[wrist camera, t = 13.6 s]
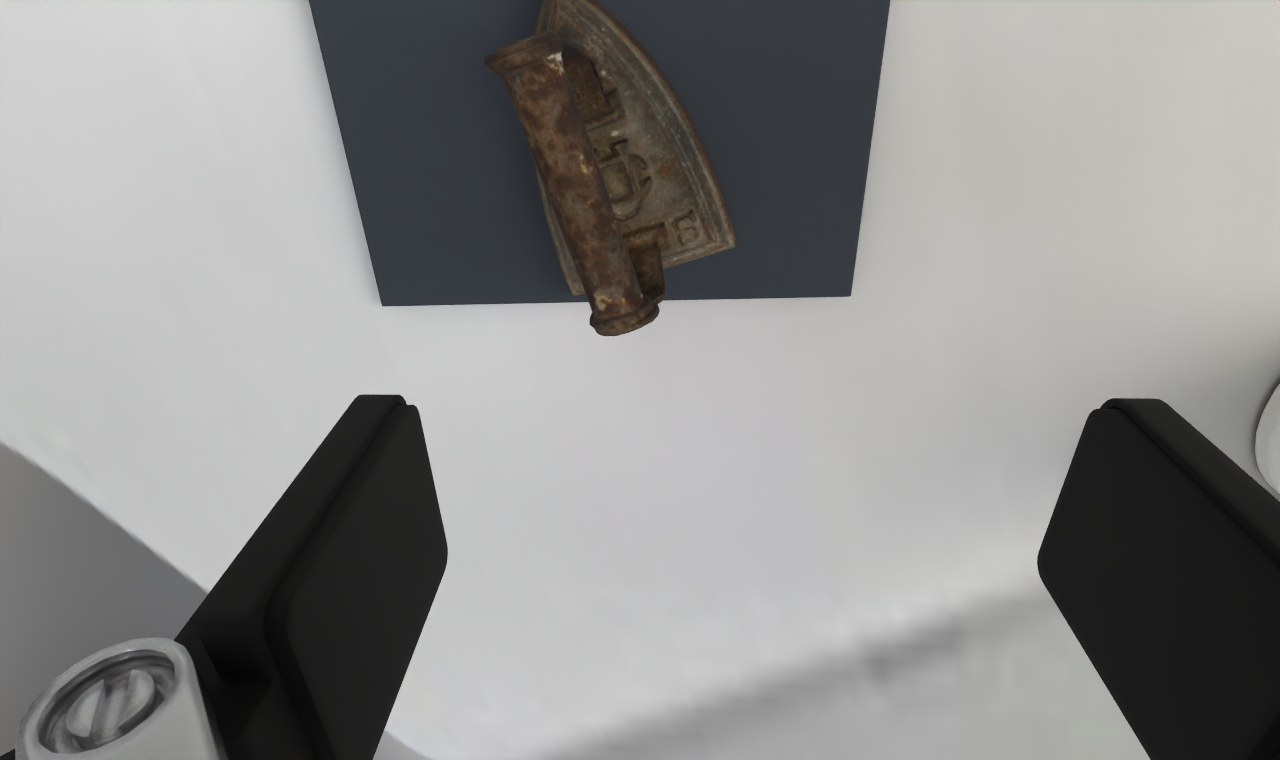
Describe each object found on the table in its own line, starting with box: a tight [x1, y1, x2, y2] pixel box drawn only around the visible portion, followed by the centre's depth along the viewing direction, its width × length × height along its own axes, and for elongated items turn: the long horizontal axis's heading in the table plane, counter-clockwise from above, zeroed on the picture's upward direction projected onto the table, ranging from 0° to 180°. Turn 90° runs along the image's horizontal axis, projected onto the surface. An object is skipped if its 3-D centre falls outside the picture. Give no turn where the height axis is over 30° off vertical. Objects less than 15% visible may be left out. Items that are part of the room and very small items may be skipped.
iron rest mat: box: [309, 0, 890, 306], centre depth 26 cm, size 20×14×1 cm
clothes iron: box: [484, 0, 737, 336], centre depth 23 cm, size 7×11×10 cm, turn 19°
